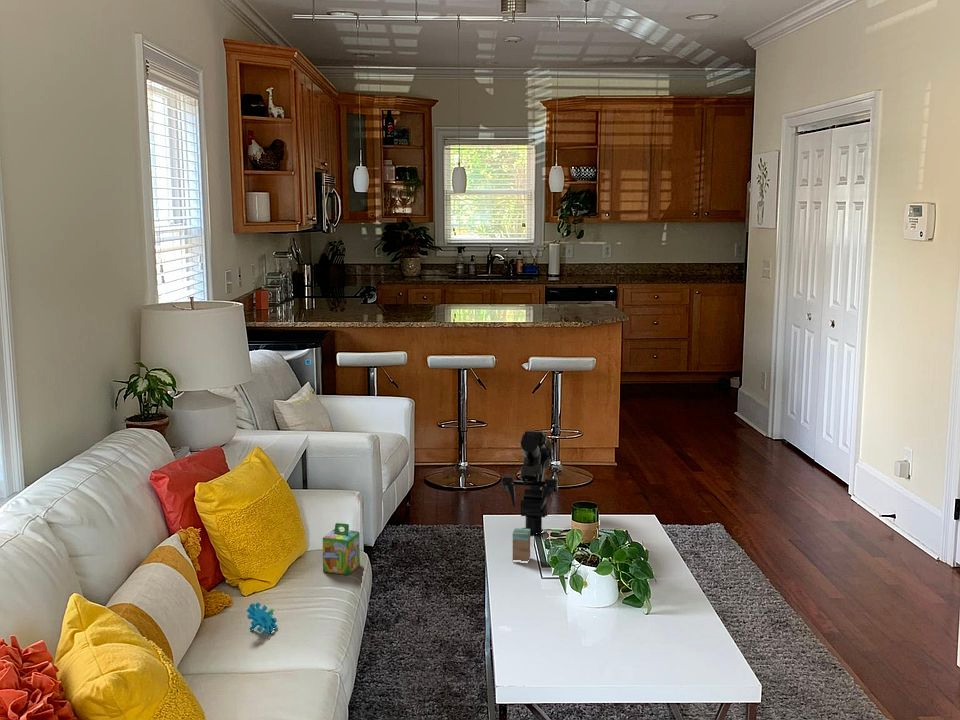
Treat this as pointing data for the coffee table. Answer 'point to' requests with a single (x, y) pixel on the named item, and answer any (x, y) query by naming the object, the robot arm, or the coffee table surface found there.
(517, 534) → the block
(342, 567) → the chalk box
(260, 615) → the gear
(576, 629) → the coffee table surface
